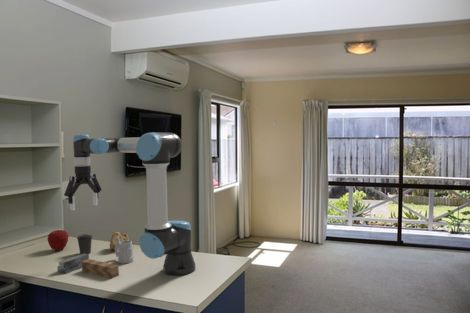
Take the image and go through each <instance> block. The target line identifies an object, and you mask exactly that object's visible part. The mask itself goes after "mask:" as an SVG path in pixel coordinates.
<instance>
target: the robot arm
mask: <svg viewBox="0 0 470 313" xmlns="http://www.w3.org/2000/svg"><path fill="white" fill-rule="evenodd" d="M72 137H73V140H72V142H73V143H72V145H73V158H74V159H73V160H74V163H73V164H74V174H75V175H74V176H72V175H71V176H69V178H68V179H69V182H68V184H67V187H66V189H65V191H64V194H63V196H65V197H67V198H68V204H69V210H70V211H76V204H75V202H76V200H75V196H74V195H75V194H76V191H78V189H79V188H80V187H81V185H87V186H88V187H89V188H90V189H91V190H92V191H93V192H92V205H93V206H98V205H99V202H98V201H99V200H98V199H99V193H100V192H101V191H102V187H101V185H100V183H99V181H98V179H97V175H96V173H92V167H91V166H90V165H91V155H102V154H115V153H117V154H118V153H124V154H125V153H131V154H132V153H133V154H134V153H135V154H136V155H137V156H138V158H139V159H140V160H142V163H141V164H142V166H144V167H145V171H146V172H145V173H146V177H145V178H146V204H147V208H146V209H147V223H146V224H145V225H144V233H142V234H141V235H140V237H139V244H138V245H139V248H140V251H141V252H142V253H143V254H144V256H146V257H147V258H148V259H157V258H162V257H163V256H165V258H164V263H163V266H162V270H163V273H164V274H166V275H170V276H182V275H183V276H184V275H188V274H191V273H193V272H194V271H196V268H197V267H196V262H195V259H194V256H193V253H192V227H191V223H190V222H188V221H186V220H169V217H168V215H169V214H168V213H169V210H168V209H169V208H168V184H167V183H168V182H167V181H168V180H167V179H168V178H167V168H168V166H169V165H170V162H171V161H170V160H171V158H175V157H177V156H178V155H179V154H180V153H181V151H182V148H183V144H182V143H183V142H182V139H181V138H180V136H179V135H177V134H176V133H173V132H171V131H170V132H154V131H153V132H147V133H144V134H142V135H141V136H140V137H139V136H138V137H105V138H103V137H97V138H90V135H89V134H74V135H73V136H72Z"/></svg>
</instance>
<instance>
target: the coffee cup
mask: <svg viewBox="0 0 470 313" xmlns="http://www.w3.org/2000/svg"><path fill="white" fill-rule="evenodd" d="M76 239H77V243H78V248H79V249H78V250H79V255H81V254H89V255H90V254H91V252H92V239H93V235H91V234H81V235H78V236H76Z"/></svg>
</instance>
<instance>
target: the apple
mask: <svg viewBox="0 0 470 313" xmlns="http://www.w3.org/2000/svg"><path fill="white" fill-rule="evenodd" d="M68 242H69V234H68V232H67V231H65V230H64V229H61V230H59V229H57V230H53V231H51V232H50V233H49V234H48V236H47V243H48V245H49V247H50V248H51V250H53V251H63V250H64V249H65V248H66V246H67V244H68Z"/></svg>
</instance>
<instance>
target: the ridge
mask: <svg viewBox="0 0 470 313" xmlns="http://www.w3.org/2000/svg"><path fill="white" fill-rule="evenodd" d="M89 255H90V254H77V255H75V256H72V257H69V258H66V259H63V260H59V261H58V266H57V272H58V273H62V274H68V273H71V272H72V273H73V272H75V271H78V270H80V269H82V261H84V260H87V259H90V256H89Z"/></svg>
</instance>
